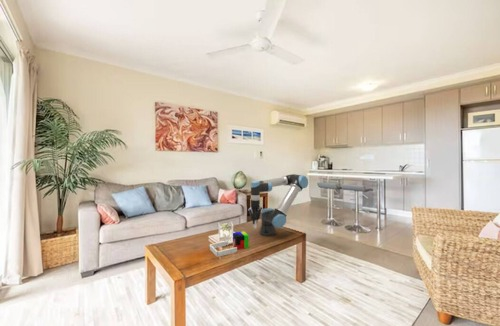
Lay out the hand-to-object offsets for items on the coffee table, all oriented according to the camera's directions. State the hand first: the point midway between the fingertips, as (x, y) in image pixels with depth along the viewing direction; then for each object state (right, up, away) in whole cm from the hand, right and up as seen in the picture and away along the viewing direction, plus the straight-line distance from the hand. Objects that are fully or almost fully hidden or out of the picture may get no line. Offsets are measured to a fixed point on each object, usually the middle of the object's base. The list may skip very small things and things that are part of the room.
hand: (254, 227), depth 181 cm
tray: (-25, -13, -14) cm, 31 cm away
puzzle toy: (-12, -13, -7) cm, 19 cm away
